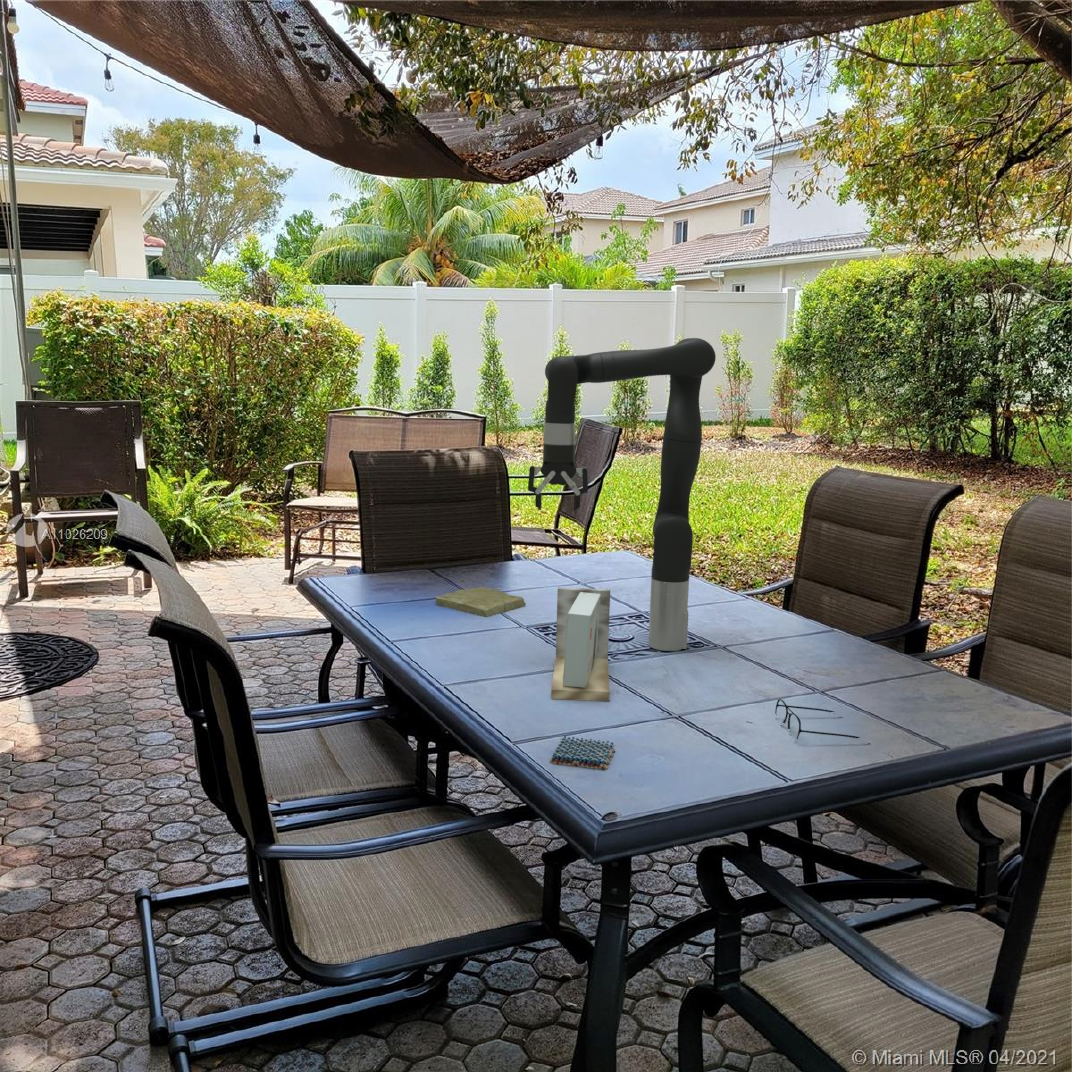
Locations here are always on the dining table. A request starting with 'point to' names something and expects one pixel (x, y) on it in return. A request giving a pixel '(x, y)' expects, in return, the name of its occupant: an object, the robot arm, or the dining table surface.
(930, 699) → the dining table surface
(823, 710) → the glasses
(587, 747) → the woven mat
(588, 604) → the skincare box
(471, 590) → the decorative tile
